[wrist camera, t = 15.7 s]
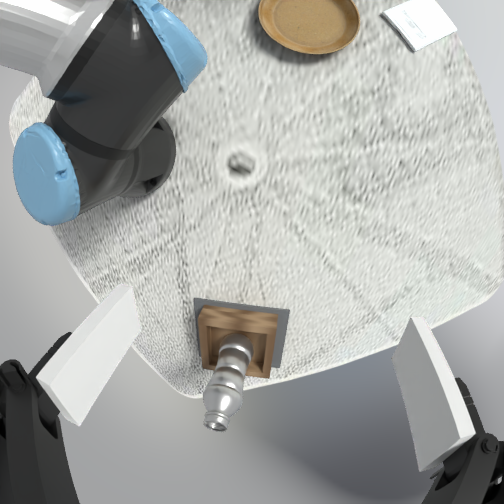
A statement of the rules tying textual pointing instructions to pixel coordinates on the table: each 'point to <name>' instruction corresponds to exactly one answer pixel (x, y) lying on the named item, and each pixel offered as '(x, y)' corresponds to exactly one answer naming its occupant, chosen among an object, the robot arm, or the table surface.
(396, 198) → the table surface
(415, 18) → the external hard drive
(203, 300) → the mat
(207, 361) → the wooden tray
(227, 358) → the plastic bottle
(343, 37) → the plant saucer
